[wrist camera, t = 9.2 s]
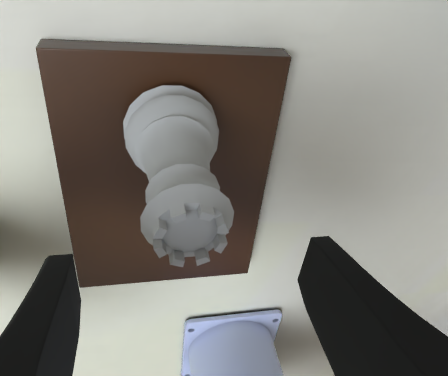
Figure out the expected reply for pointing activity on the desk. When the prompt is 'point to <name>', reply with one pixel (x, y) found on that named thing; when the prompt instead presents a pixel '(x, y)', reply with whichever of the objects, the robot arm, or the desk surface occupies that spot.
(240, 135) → the walnut board
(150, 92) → the rook chess piece
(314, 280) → the robot arm
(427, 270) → the desk surface
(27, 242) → the desk surface
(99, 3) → the desk surface
